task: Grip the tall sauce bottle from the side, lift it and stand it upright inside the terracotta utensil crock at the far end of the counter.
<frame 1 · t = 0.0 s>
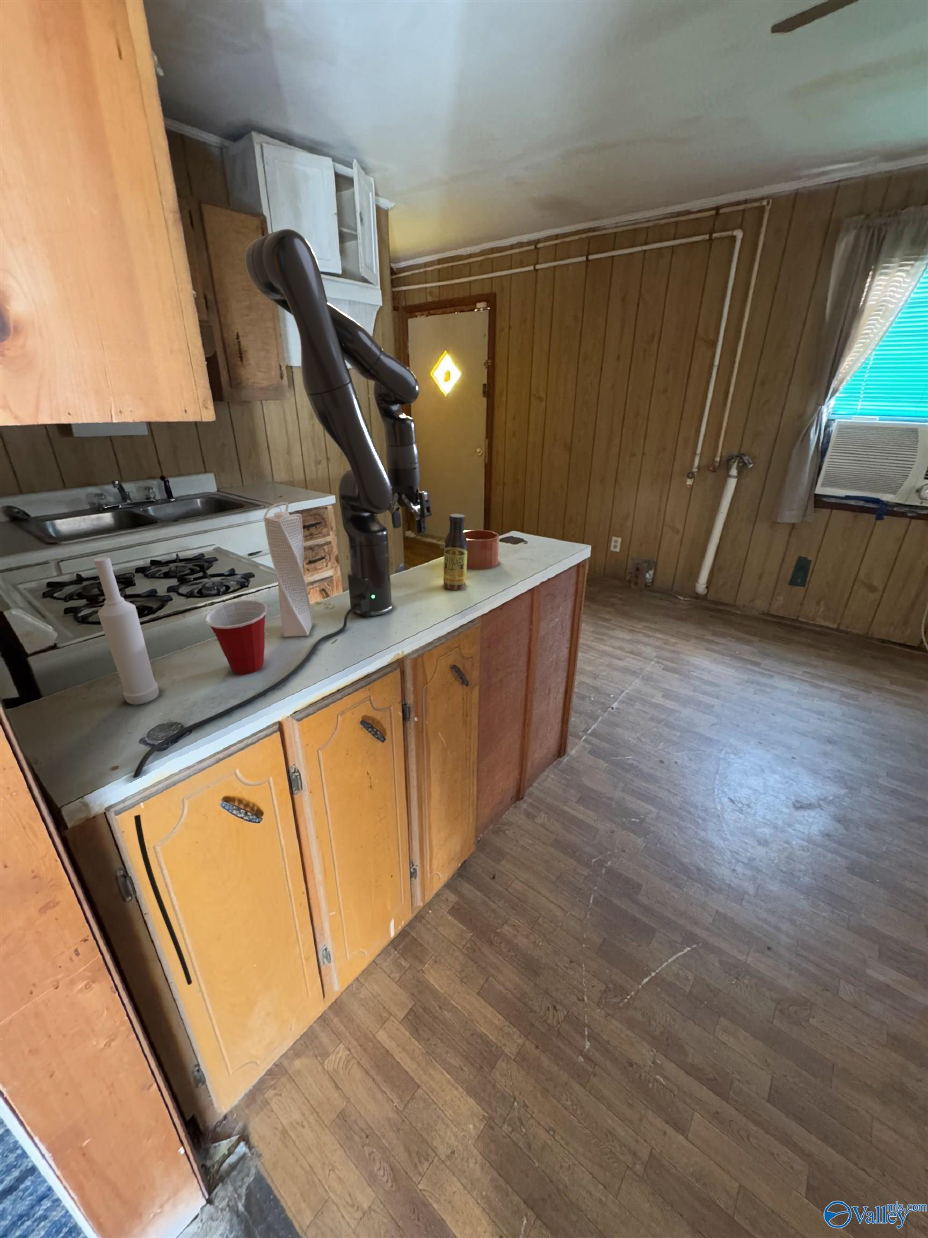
hand: (409, 530, 126), 17 cm above the worktop, tool pointing down, fingers open, 8 cm apart
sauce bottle: (455, 587, 138), on the worktop
plastic cup: (247, 668, 97), on the worktop
crock: (477, 562, 158), on the worktop
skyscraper: (299, 631, 112), on the worktop
bottle: (143, 697, 87), on the worktop
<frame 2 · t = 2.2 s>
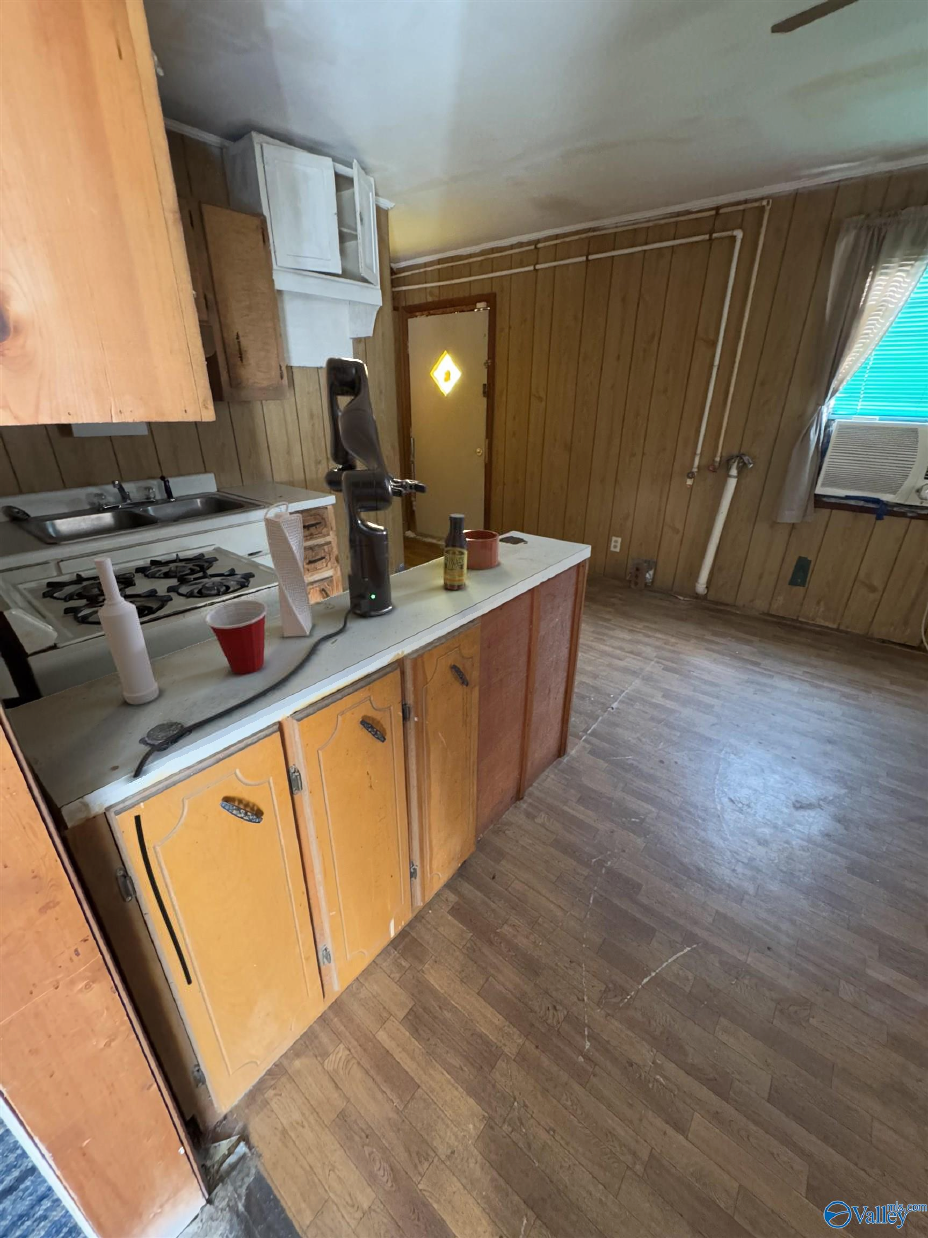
hand: (414, 491, 137), 24 cm above the worktop, tool horizontal, fingers open, 8 cm apart
nothing on the worktop moved.
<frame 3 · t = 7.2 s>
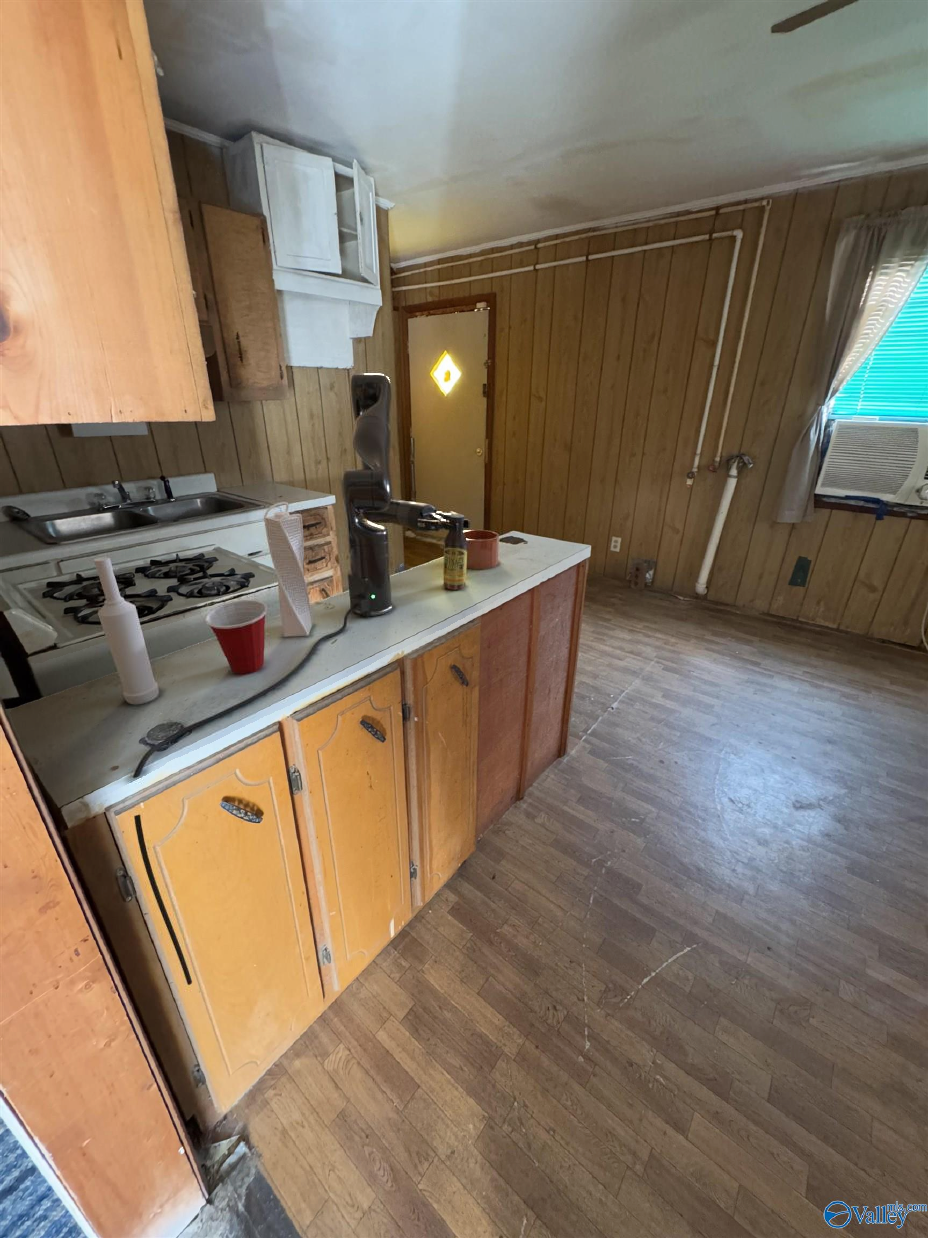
hand: (463, 525, 129), 18 cm above the worktop, tool horizontal, fingers closed on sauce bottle, 4 cm apart
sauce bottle: (455, 587, 138), on the worktop, touching gripper
everything else where it was.
when the fingers open (19 cm above the worktop, at t = 16.0 s): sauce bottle stays where it is, resting on crock.
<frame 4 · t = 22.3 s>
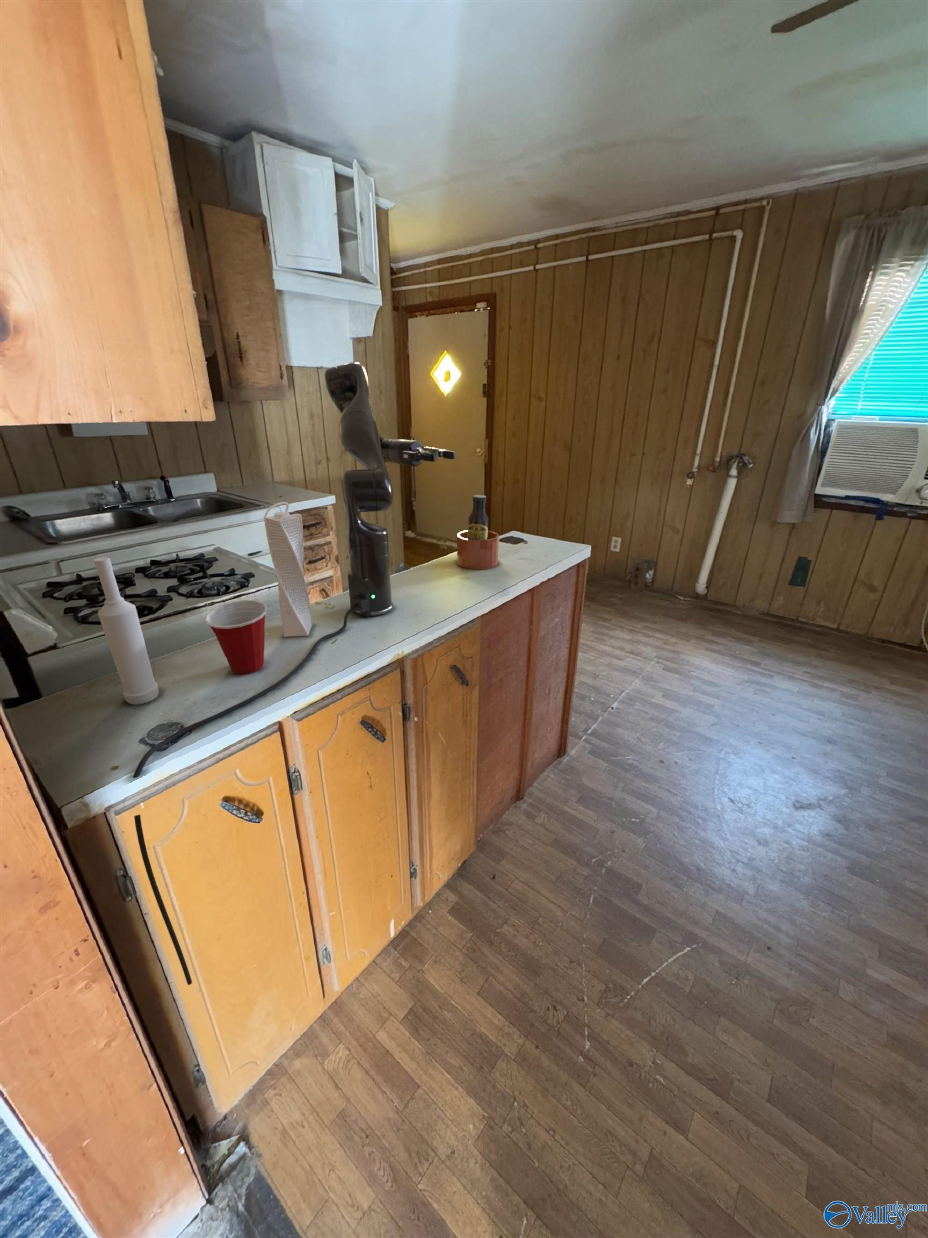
hand: (444, 456, 146), 32 cm above the worktop, tool horizontal, fingers open, 8 cm apart
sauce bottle: (476, 560, 158), point 1 cm above the worktop, touching crock
everything else where it was.
at the end: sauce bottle 0.2 cm off-centre in the crock, point 0.8 cm above the crock's base; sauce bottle tilted 0° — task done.
